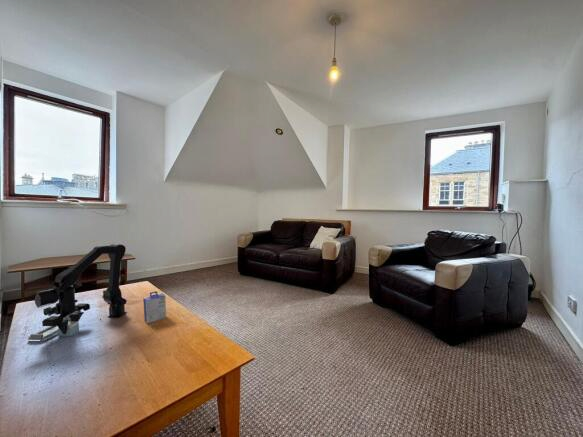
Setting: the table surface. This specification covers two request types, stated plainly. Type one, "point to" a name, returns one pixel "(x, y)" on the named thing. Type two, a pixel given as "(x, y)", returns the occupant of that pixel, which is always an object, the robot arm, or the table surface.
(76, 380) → the table surface
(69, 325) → the block
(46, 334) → the din rail
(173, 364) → the table surface
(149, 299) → the ink cartridge box
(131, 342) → the table surface
